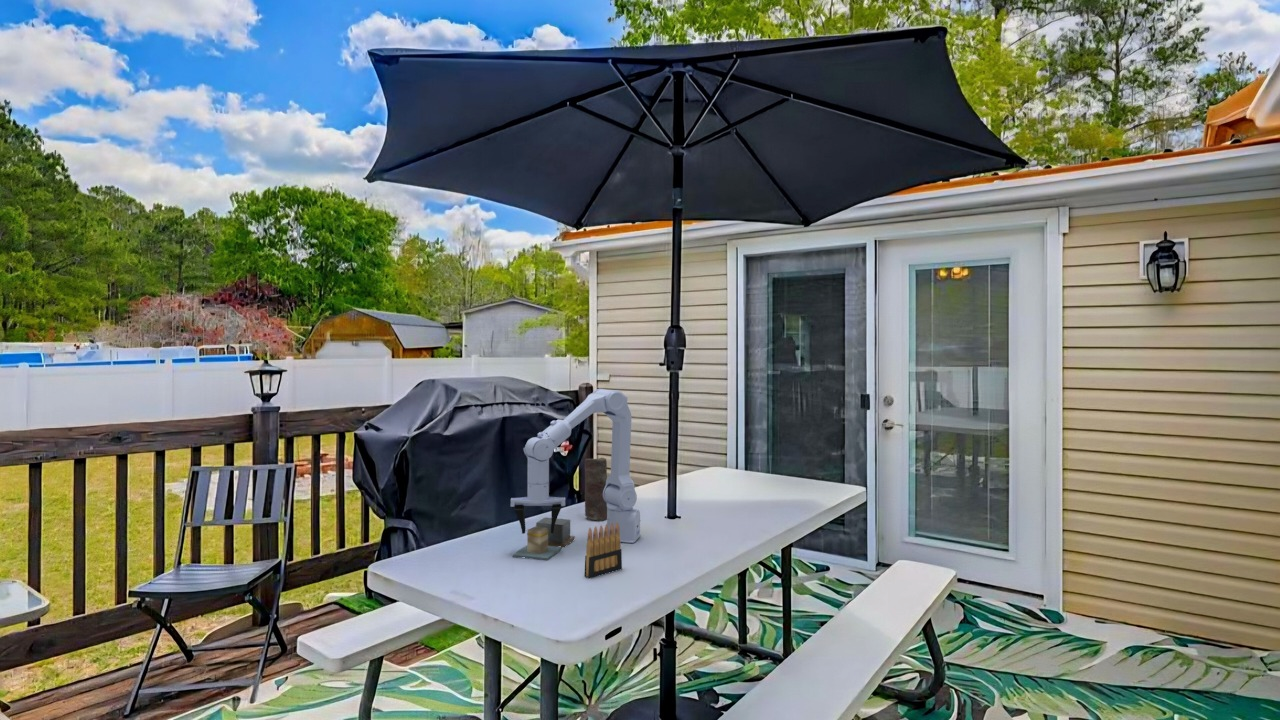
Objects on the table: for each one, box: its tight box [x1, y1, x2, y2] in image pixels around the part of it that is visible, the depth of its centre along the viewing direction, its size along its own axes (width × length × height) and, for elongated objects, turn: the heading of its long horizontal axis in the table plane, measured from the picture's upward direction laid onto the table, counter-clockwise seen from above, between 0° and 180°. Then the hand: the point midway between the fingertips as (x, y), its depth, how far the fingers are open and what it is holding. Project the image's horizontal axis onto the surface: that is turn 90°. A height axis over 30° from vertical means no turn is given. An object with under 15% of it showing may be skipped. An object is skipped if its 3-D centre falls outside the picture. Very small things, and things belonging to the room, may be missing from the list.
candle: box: [584, 457, 608, 522], centre depth 220 cm, size 8×7×20 cm
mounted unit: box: [535, 517, 576, 548], centre depth 193 cm, size 10×8×6 cm
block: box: [526, 525, 548, 554], centre depth 182 cm, size 4×4×6 cm
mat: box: [512, 545, 563, 561], centre depth 182 cm, size 10×10×1 cm
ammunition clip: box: [583, 522, 623, 579], centre depth 167 cm, size 11×2×12 cm, turn 133°
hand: (538, 532), depth 182 cm, fingers open, 7 cm apart
